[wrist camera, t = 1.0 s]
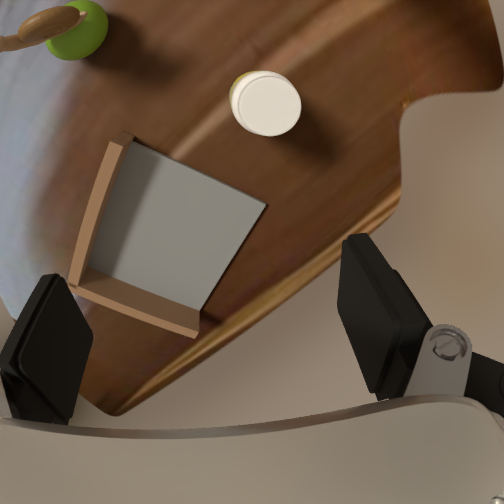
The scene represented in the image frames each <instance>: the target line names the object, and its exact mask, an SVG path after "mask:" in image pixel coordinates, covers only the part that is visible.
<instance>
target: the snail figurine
mask: <svg viewBox="0 0 504 504" xmlns="http://www.w3.org/2000/svg"><path fill="white" fill-rule="evenodd" d="M107 31H108V18H107V15H106V13H105V11H104V10H103V8H102V7H101V6H100V5H98V4H97V3H95V2H92V1H88V0H77V1H73V2H70V3H67V4H65V5H64V6H58V7H53V8H50V9H46V10H44V11H41V12H39V13H37V14H35V15H33V16H31V17H30V18H28V19H27V20H26V21H25V22H23V23H22V25H21V26H20V28H19V30H18V34H15V35H10V36H6V37H3V36H0V52H4V51H14V50H19V49H23V48H26V47H30V46H34V45H38V44H40V43H43V42H46V45H47V48H48V49H49V51H50V52H51V53H52V54H53V55H54V56H56V57H57V58H60V59H63V60H78V59H82V58H84V57H86V56H88V55H90V54H92V53H93V52H94V51H95V50H96V49H97V48H98V47H99V46H100V45H101V44H102V42H103V41H104V39H105V37H106V34H107Z"/></svg>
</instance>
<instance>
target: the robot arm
mask: <svg viewBox="0 0 504 504" xmlns="http://www.w3.org/2000/svg"><path fill="white" fill-rule="evenodd" d="M337 308H338V313H339V315H340V317H341V320H342V322H343V325H344V327H345V330H346V333H347V335H348V338H349V340H350V343H351V345H352V348H353V351H354V353H355V356H356V358H357V361H358V363H359V366H360V369H361V371H362V374H363V377H364V379H365V382H366V385H367V387H368V390H369V392H370V393H375V395H376V397H377V400H378V401H380V402H375V403H370V404H365V405H361V406H357V407H352V408H348V409H343V410H338V411H333V412H327V413H322V414H316V415H310V416H305V417H299V418H293V419H286V420H280V421H273V422H265V423H258V424H248V425H238V426H227V427H215V428H199V429H175V430H174V429H172V430H130V429H105V428H90V427H77V426H68V421H69V419H70V418H71V417H72V416H73V412H74V407H75V404H76V399H77V395H78V392H79V388H80V384H81V380H82V377H83V373H84V370H85V366H86V362H87V359H88V356H89V352H90V349H91V346H92V342H93V333H92V330H91V329H90V327H89V325H88V323H87V321H86V320H85V318H84V316H83V314H82V312H81V310H80V309H79V307H78V305H77V303H76V301H75V299H74V297H73V295H72V293H71V291H70V289H69V287H68V285H67V283H66V281H65V279H64V278H63V277H60V275H59V274H56V273H55V274H48V275H43V276H42V277H41V278H40V280H39V282H38V284H37V285H36V287H35V289H34V290H33V292H32V294H31V296H30V297H29V299H28V301H27V303H26V305H25V306H24V308H23V310H22V312H21V314H20V316H19V317H18V319H17V321H16V323H15V325H14V327H13V329H12V331H11V333H10V335H9V337H8V339H7V341H6V343H5V345H4V347H3V349H2V352H1V354H0V368H1V371H0V504H504V364H503V363H500V362H497V361H495V360H493V359H490V358H488V357H485V356H482V355H480V354H477V353H475V352H472V344H471V341H470V339H469V337H468V336H467V335H466V333H465V332H463V331H462V330H461V329H459V328H457V327H455V326H453V325H448V324H440V325H436V326H433V325H432V323H431V322H430V320H429V318H428V317H427V315H426V314H425V312H424V311H423V309H422V307H421V306H420V304H419V303H418V301H417V300H416V298H415V297H414V295H413V294H412V292H411V291H410V289H409V288H408V286H407V285H406V283H405V282H404V280H403V279H402V277H401V276H400V274H399V273H398V272H397V271H396V270H394V269H392V268H391V267H390V265H389V264H388V262H387V261H386V259H385V258H384V256H383V255H382V254H381V252H380V251H379V249H378V248H377V246H376V245H375V244H374V242H373V241H372V240H371V238H370V237H369V235H368V234H367V233H359V234H351V235H349V236H348V238H347V240H343V243H342V254H341V267H340V279H339V289H338V300H337ZM388 398H389V400H385V401H381V400H384V399H388ZM52 423H53V424H52Z"/></svg>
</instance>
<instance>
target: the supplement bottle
mask: <svg viewBox="0 0 504 504" xmlns="http://www.w3.org/2000/svg"><path fill="white" fill-rule="evenodd" d="M229 102H230V106H231V108H232V111H233V114H234V116H235V118H236V119H237V121H238V122H239V123H240V124H241V125H242V126H243V127H244V128H245V129H247V130H248V131H250V132H252V133H255V134H259V135H263V136H277V135H281V134H283V133H285V132H287V131H288V130H290V129H291V128H292V127H293V126H294V125H295V124H296V122H297V121H298V119H299V116H300V113H301V100H300V97H299V94H298V92H297V91H296V89H295V88H294V86H293V85H292V84H291V83H290V82H289V81H288V80H287V79H286V78H285V77H283V76H282V75H280V74H278V73H275V72H271V71H250V72H247V73H244V74H242V75H241V76H239V77H238V78H237V79H236V80H235V81H234V83H233V84H232V86H231V88H230V92H229Z"/></svg>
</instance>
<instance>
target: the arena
mask: <svg viewBox="0 0 504 504" xmlns="http://www.w3.org/2000/svg"><path fill="white" fill-rule="evenodd" d="M133 139H134V135H131V134H129V133H127V132H124V131H123V132H121V133H120V134H119V135H117V136H116V137H115V138H113V139H112V140H111V141H110V143H109V145H108V148H107V150H106V153H105V156H104V158H103V161H102V164H101V167H100V169H99V172H98V175H97V178H96V181H95V184H94V187H93V190H92V193H91V196H90V199H89V202H88V205H87V209H86V212H85V215H84V219H83V222H82V225H81V229H80V233H79V236H78V240H77V244H76V248H75V252H74V256H73V260H72V264H71V268H70V273H69V277H68V282H67V285H68V287H69V289H70V291H71V292H73V293H75V294H77V295H79V296H82V297H84V298H87V299H89V300H91V301H94V302H96V303H99V304H101V305H104V306H106V307H109V308H111V309H114V310H116V311H119V312H121V313H124V314H126V315H129V316H132V317H134V318H137V319H140V320H142V321H145V322H148V323H151V324H153V325H156V326H159V327H162V328H165V329H167V330H170V331H173V332H176V333H179V334H182V335H185V336H188V337H191V338H194V339H195V337H196V336H197V334H198V333H199V313H200V309H201V308H202V306H203V304H204V303H205V301H206V300H207V298H208V296H209V295H210V293H211V291H212V290H213V288H214V287H215V285H216V283H217V282H218V280H219V279H220V277H221V275H222V274H223V272H224V271H225V269H226V267H227V266H228V264H229V263H230V261H231V259H232V258H233V256H234V255H235V253H236V252H237V250H238V248H239V247H240V245H241V244H242V242H243V240H244V239H245V237H246V236H247V234H248V232H249V231H250V229H251V228H252V226H253V225H254V223H255V221H256V220H257V218H258V217H259V215H260V214H261V212H262V210H263V209H264V207H265V206H266V203H265V202H263V201H261V200H259V199H257V198H255V197H253V196H251V195H249V194H247V193H245V192H243V191H240V190H238V189H236V188H234V187H232V186H230V185H228V184H226V183H224V182H222V181H220V180H218V179H216V178H213V177H211V176H209V175H207V174H205V173H203V172H201V171H199V170H196V169H194V168H192V167H190V166H188V165H186V164H183V163H181V162H179V161H177V160H175V159H172V158H170V157H168V156H166V155H164V154H161V153H159V152H157V151H155V150H152V149H150V148H148V147H146V146H143V145H141V144H139V143H137V142H134V141H133Z"/></svg>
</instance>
